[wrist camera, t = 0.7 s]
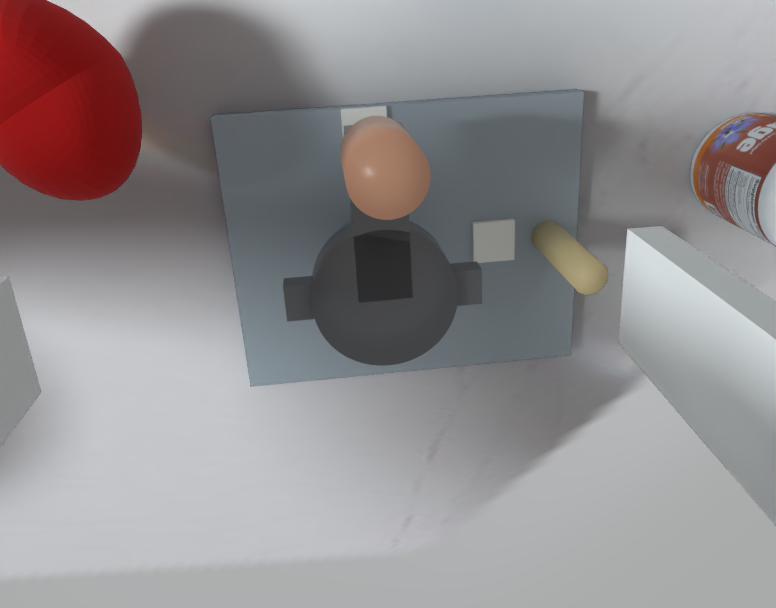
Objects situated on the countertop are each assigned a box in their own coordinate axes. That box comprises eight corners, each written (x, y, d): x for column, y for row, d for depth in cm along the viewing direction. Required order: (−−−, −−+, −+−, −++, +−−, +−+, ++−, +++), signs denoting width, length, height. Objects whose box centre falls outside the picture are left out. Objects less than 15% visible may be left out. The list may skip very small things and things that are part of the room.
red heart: (200, 126, 38) (166, 164, 29) (95, 193, 39) (29, 251, 30) (85, -40, 35) (5, -56, 26) (-28, 38, 36) (-145, 49, 26)
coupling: (474, 335, 38) (510, 407, 31) (293, 353, 37) (290, 430, 30) (472, 101, 33) (514, 125, 26) (265, 115, 32) (253, 145, 26)
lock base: (251, 377, 44) (240, 452, 37) (213, 115, 38) (189, 141, 31) (564, 346, 46) (614, 413, 38) (576, 89, 40) (638, 108, 32)
